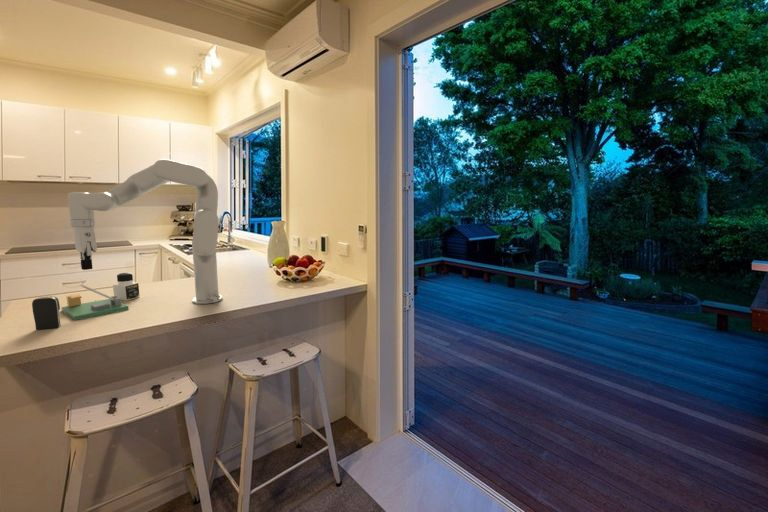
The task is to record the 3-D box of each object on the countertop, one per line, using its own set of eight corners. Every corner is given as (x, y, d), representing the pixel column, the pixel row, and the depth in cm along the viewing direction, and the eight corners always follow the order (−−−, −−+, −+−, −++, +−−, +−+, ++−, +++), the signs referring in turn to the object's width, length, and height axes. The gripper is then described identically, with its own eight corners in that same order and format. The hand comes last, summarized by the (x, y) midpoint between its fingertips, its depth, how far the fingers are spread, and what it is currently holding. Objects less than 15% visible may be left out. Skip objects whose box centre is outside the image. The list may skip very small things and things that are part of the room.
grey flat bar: (117, 303, 158) (119, 300, 159) (82, 287, 148) (84, 284, 148) (115, 301, 160) (117, 298, 160) (80, 286, 150) (82, 283, 150)
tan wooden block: (84, 306, 155) (82, 296, 155) (71, 308, 152) (70, 298, 152) (79, 303, 159) (78, 293, 159) (67, 305, 156) (66, 295, 155)
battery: (63, 324, 138) (59, 294, 137) (59, 328, 135) (55, 297, 133) (39, 326, 136) (35, 296, 134) (34, 330, 132) (30, 299, 131)
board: (128, 309, 158) (127, 298, 157) (74, 320, 144) (73, 308, 143) (112, 301, 169) (111, 291, 168) (61, 310, 155) (60, 299, 154)
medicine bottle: (127, 301, 170) (124, 275, 168) (113, 300, 172) (111, 274, 170) (140, 297, 177) (137, 272, 175) (127, 296, 179) (124, 271, 177)
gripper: (100, 224, 146) (104, 270, 148) (88, 222, 155) (92, 265, 157) (76, 225, 140) (80, 273, 142) (65, 222, 149) (70, 268, 151)
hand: (87, 269), depth 150 cm, fingers closed
